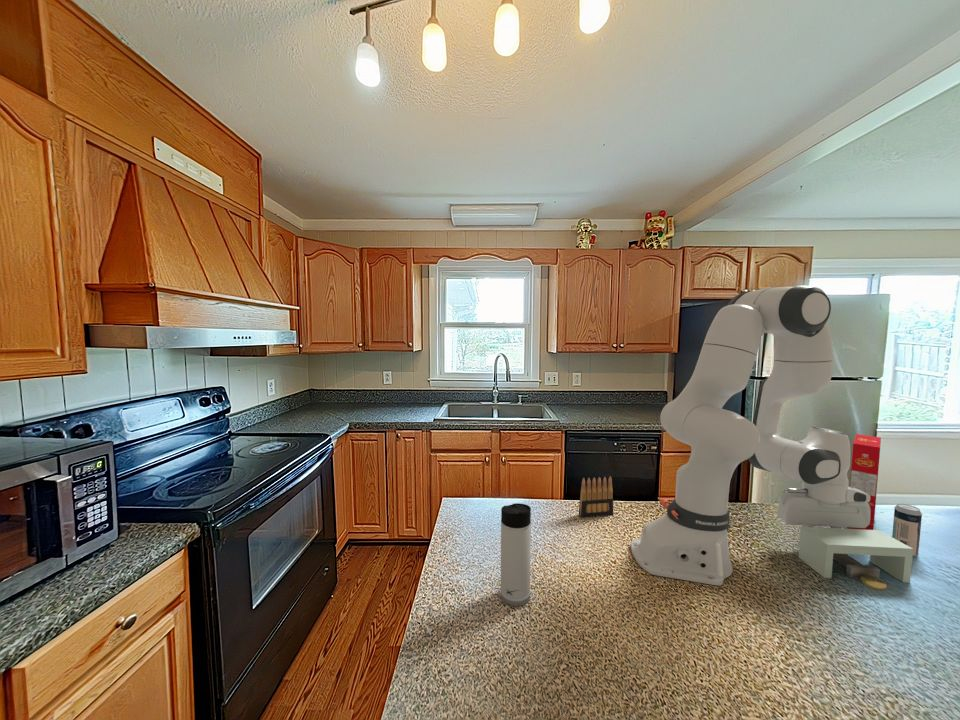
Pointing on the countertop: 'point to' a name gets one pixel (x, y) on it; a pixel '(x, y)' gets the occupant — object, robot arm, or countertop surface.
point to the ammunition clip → (596, 498)
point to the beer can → (907, 526)
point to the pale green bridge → (854, 549)
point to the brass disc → (873, 582)
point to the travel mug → (515, 553)
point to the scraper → (854, 565)
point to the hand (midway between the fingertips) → (820, 540)
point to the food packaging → (866, 470)
